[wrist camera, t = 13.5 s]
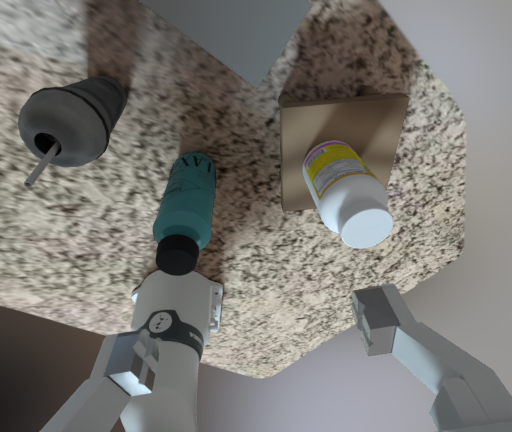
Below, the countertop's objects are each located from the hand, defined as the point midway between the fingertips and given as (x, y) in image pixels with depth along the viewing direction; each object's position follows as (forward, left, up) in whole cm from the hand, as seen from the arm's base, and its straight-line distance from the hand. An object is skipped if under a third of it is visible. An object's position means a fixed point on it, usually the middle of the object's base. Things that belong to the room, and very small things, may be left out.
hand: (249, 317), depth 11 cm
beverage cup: (+1, +16, -33) cm, 37 cm away
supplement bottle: (-7, -11, -25) cm, 28 cm away
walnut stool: (-7, -12, -33) cm, 36 cm away
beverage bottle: (-10, +7, -33) cm, 36 cm away
